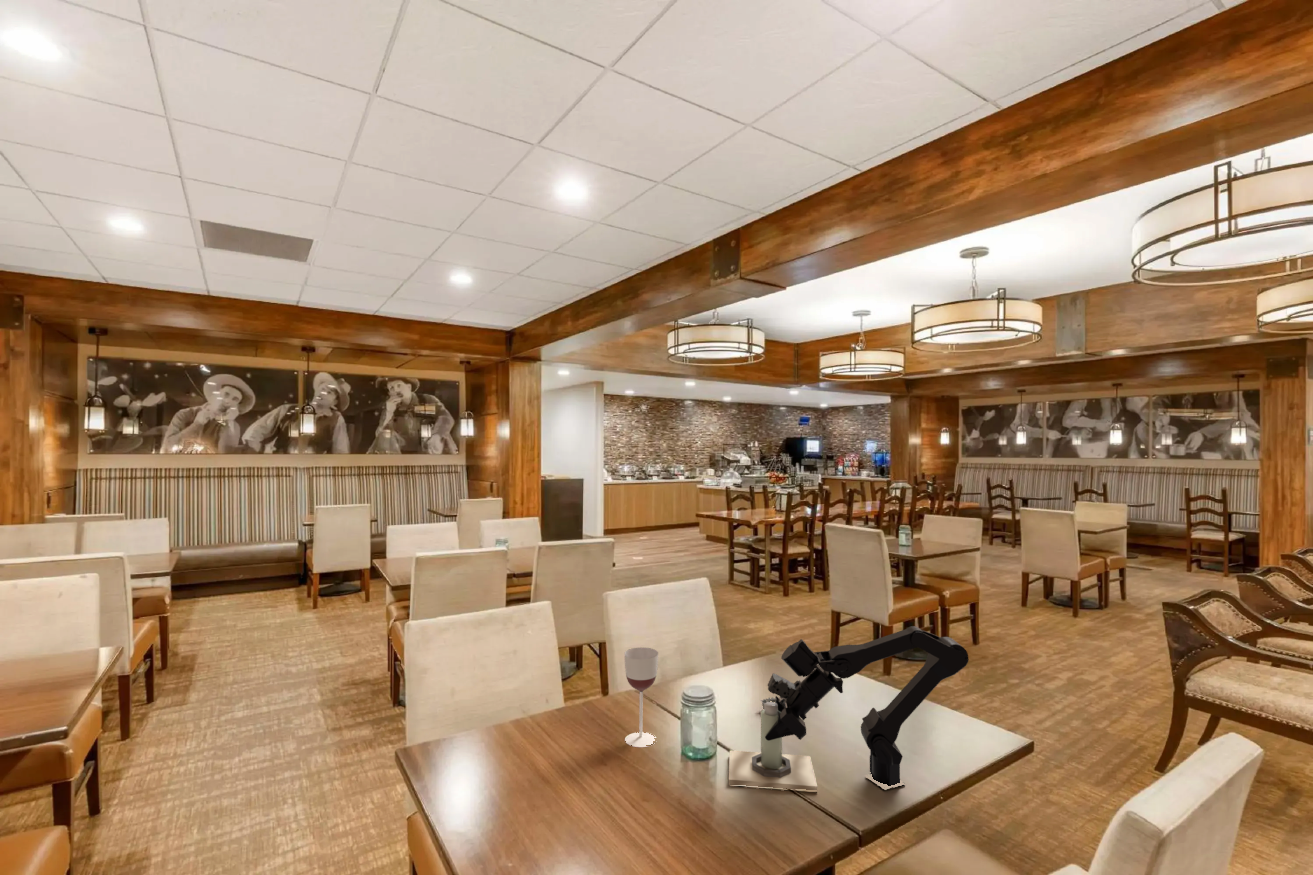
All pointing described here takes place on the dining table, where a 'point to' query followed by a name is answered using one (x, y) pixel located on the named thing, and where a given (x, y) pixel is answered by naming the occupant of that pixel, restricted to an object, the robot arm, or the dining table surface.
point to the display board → (771, 771)
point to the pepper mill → (772, 748)
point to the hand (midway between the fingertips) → (765, 733)
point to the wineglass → (641, 686)
